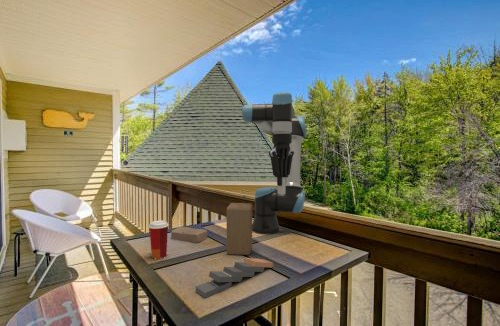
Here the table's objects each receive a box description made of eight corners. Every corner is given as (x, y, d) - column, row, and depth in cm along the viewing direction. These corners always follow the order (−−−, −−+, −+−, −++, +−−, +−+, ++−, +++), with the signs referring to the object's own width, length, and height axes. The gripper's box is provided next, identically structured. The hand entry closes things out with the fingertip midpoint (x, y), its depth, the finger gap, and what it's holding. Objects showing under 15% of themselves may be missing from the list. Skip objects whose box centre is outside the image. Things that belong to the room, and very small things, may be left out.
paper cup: (167, 251, 111) (166, 219, 111) (170, 258, 105) (170, 223, 104) (147, 254, 108) (147, 221, 107) (149, 261, 101) (149, 226, 100)
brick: (170, 239, 128) (170, 229, 128) (181, 234, 135) (181, 225, 135) (198, 244, 121) (198, 234, 121) (208, 239, 129) (208, 229, 129)
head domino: (272, 267, 96) (254, 266, 89) (262, 263, 100) (244, 262, 93) (273, 263, 96) (255, 261, 90) (263, 259, 100) (245, 257, 93)
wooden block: (252, 247, 117) (252, 202, 116) (250, 256, 107) (250, 207, 106) (230, 246, 118) (230, 202, 117) (226, 255, 108) (226, 207, 107)
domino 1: (232, 271, 90) (210, 271, 83) (242, 276, 86) (219, 276, 79) (231, 276, 89) (208, 276, 82) (241, 281, 86) (218, 282, 79)
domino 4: (254, 263, 96) (235, 261, 90) (264, 267, 93) (245, 266, 86) (253, 267, 96) (233, 266, 89) (263, 272, 93) (243, 271, 86)
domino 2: (221, 276, 86) (195, 286, 80) (231, 281, 83) (204, 292, 76) (221, 281, 86) (195, 291, 80) (231, 286, 83) (204, 298, 76)
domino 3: (244, 267, 93) (224, 266, 86) (254, 271, 90) (234, 271, 83) (243, 272, 93) (222, 271, 86) (253, 276, 89) (232, 277, 82)
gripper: (284, 134, 108) (284, 191, 109) (263, 133, 99) (263, 194, 101) (299, 133, 103) (299, 193, 104) (278, 132, 94) (278, 197, 95)
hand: (281, 193), depth 102 cm, fingers closed
